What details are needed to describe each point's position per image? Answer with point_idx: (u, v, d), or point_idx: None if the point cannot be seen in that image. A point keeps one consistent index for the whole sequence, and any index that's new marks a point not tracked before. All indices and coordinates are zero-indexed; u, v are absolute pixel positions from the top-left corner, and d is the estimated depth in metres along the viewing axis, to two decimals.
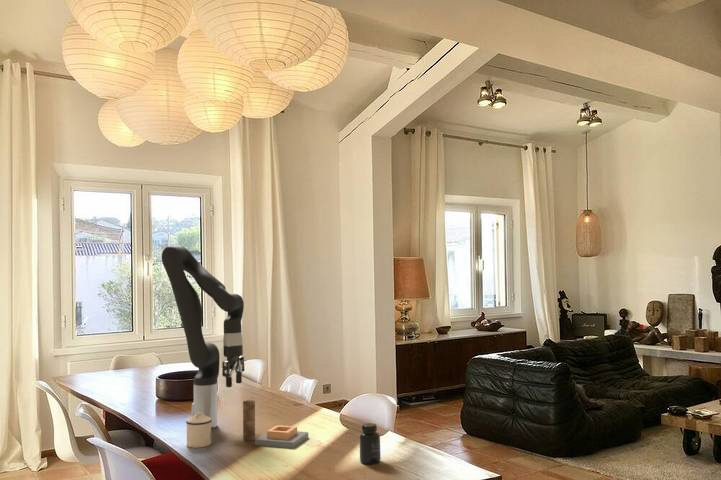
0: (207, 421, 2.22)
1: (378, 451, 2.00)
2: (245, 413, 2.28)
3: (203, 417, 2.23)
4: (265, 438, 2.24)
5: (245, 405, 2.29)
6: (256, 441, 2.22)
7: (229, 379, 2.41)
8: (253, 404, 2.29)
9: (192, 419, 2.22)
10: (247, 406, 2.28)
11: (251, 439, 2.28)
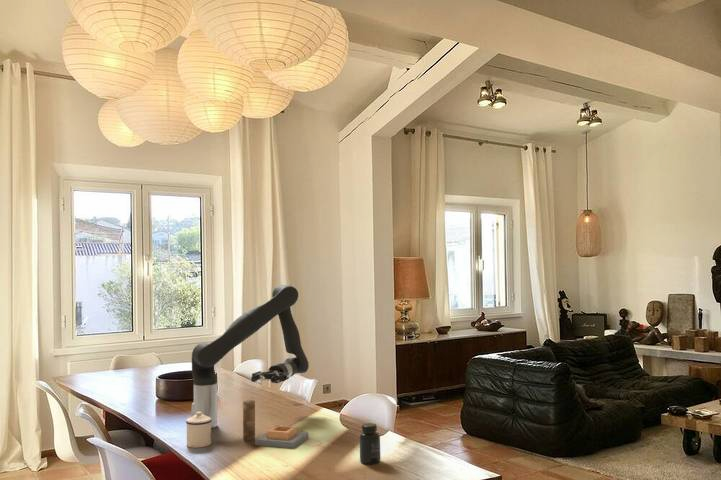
0: (207, 421, 2.22)
1: (378, 451, 2.00)
2: (245, 413, 2.28)
3: (203, 417, 2.23)
4: (265, 438, 2.24)
5: (245, 405, 2.29)
6: (256, 441, 2.22)
7: None
8: (253, 404, 2.29)
9: (192, 419, 2.22)
10: (247, 406, 2.28)
11: (251, 439, 2.28)
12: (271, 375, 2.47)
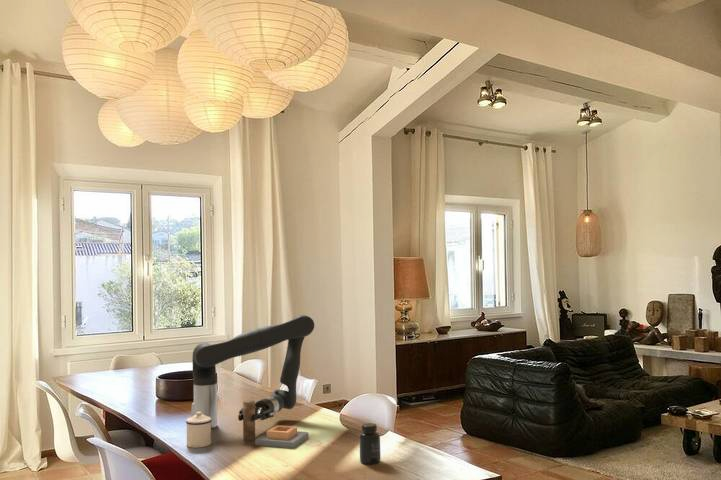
0: (207, 421, 2.22)
1: (378, 451, 2.00)
2: (245, 413, 2.28)
3: (203, 417, 2.23)
4: (265, 438, 2.24)
5: (245, 405, 2.29)
6: (256, 441, 2.22)
7: (257, 418, 2.29)
8: (253, 404, 2.29)
9: (192, 419, 2.22)
10: (247, 406, 2.28)
11: (251, 439, 2.28)
12: None
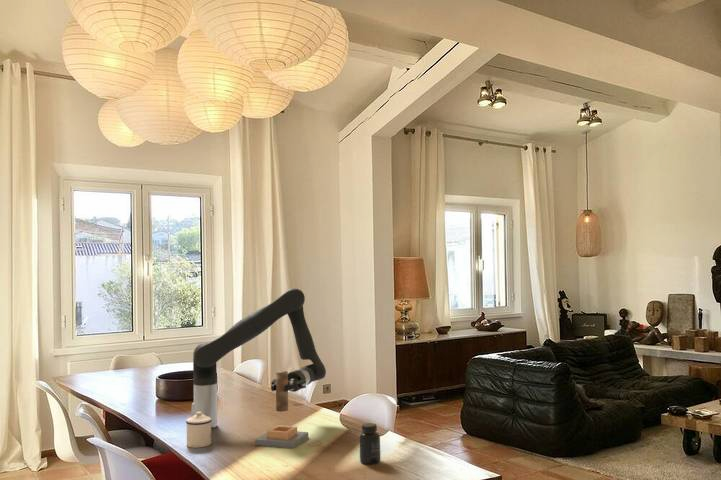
0: (207, 421, 2.22)
1: (378, 451, 2.00)
2: (278, 383, 2.26)
3: (203, 417, 2.23)
4: (265, 438, 2.24)
5: (278, 375, 2.26)
6: (256, 441, 2.22)
7: None
8: (286, 374, 2.27)
9: (192, 419, 2.22)
10: (280, 376, 2.26)
11: (284, 409, 2.26)
12: None
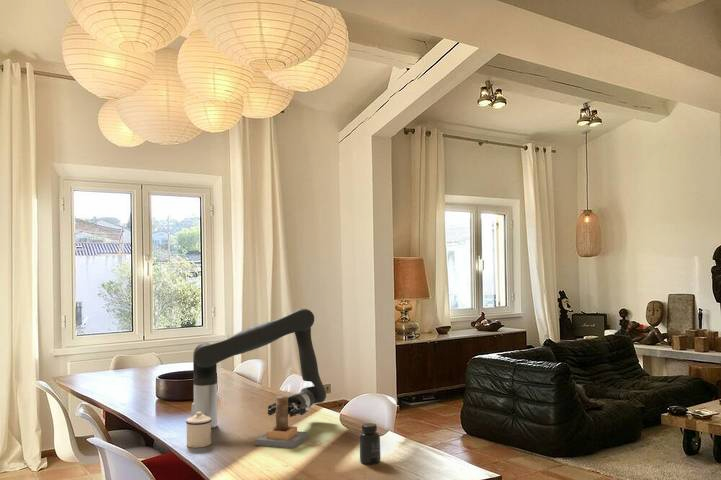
0: (207, 421, 2.22)
1: (378, 451, 2.00)
2: (278, 409, 2.26)
3: (203, 417, 2.23)
4: (265, 438, 2.24)
5: (278, 401, 2.26)
6: (256, 441, 2.22)
7: (295, 414, 2.27)
8: (286, 400, 2.27)
9: (192, 419, 2.22)
10: (280, 402, 2.25)
11: None
12: (289, 408, 2.31)
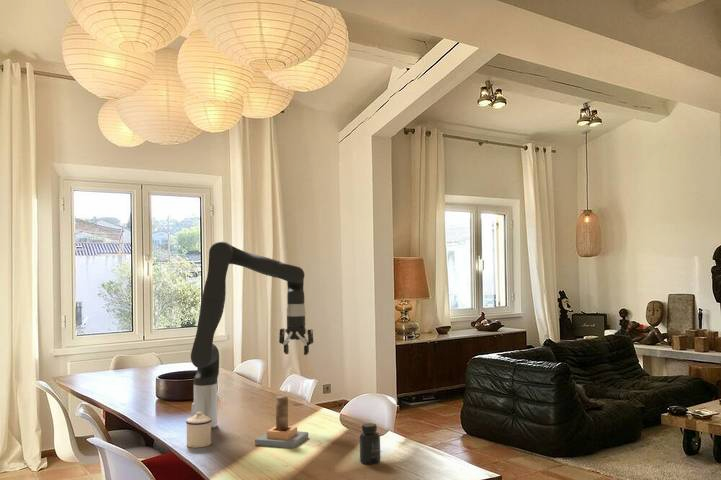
0: (207, 421, 2.22)
1: (378, 451, 2.00)
2: (278, 409, 2.26)
3: (203, 417, 2.23)
4: (265, 438, 2.24)
5: (278, 401, 2.26)
6: (256, 441, 2.22)
7: None
8: (286, 400, 2.27)
9: (192, 419, 2.22)
10: (280, 402, 2.25)
11: None
12: (297, 339, 2.53)
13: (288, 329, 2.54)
